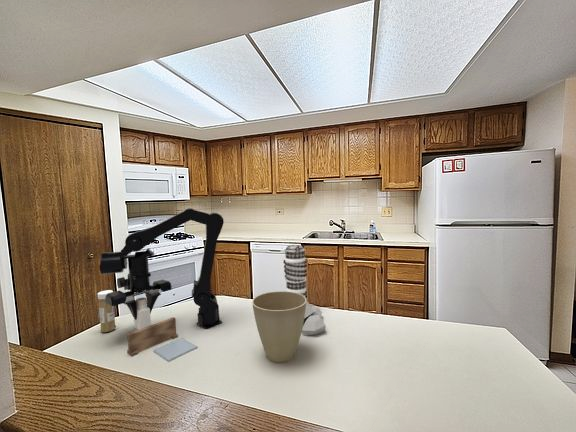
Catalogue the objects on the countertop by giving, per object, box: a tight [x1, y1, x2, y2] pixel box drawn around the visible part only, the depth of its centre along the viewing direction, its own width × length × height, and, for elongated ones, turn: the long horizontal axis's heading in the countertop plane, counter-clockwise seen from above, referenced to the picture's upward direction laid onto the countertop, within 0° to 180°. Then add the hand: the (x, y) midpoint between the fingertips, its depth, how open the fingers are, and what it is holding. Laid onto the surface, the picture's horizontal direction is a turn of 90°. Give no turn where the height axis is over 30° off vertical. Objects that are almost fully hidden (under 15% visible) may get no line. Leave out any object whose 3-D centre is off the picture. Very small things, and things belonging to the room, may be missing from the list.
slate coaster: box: [152, 337, 198, 363], centre depth 84 cm, size 9×9×1 cm
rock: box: [301, 300, 326, 336], centre depth 97 cm, size 18×20×10 cm
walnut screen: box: [126, 317, 179, 357], centre depth 87 cm, size 14×3×6 cm, turn 140°
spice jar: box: [97, 289, 117, 333], centre depth 98 cm, size 5×5×13 cm
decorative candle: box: [283, 244, 308, 301], centre depth 111 cm, size 9×9×25 cm
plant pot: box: [251, 290, 308, 363], centre depth 78 cm, size 15×15×16 cm
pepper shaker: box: [133, 297, 152, 330], centre depth 94 cm, size 4×4×10 cm
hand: (142, 317), depth 94 cm, fingers closed on pepper shaker, 4 cm apart
